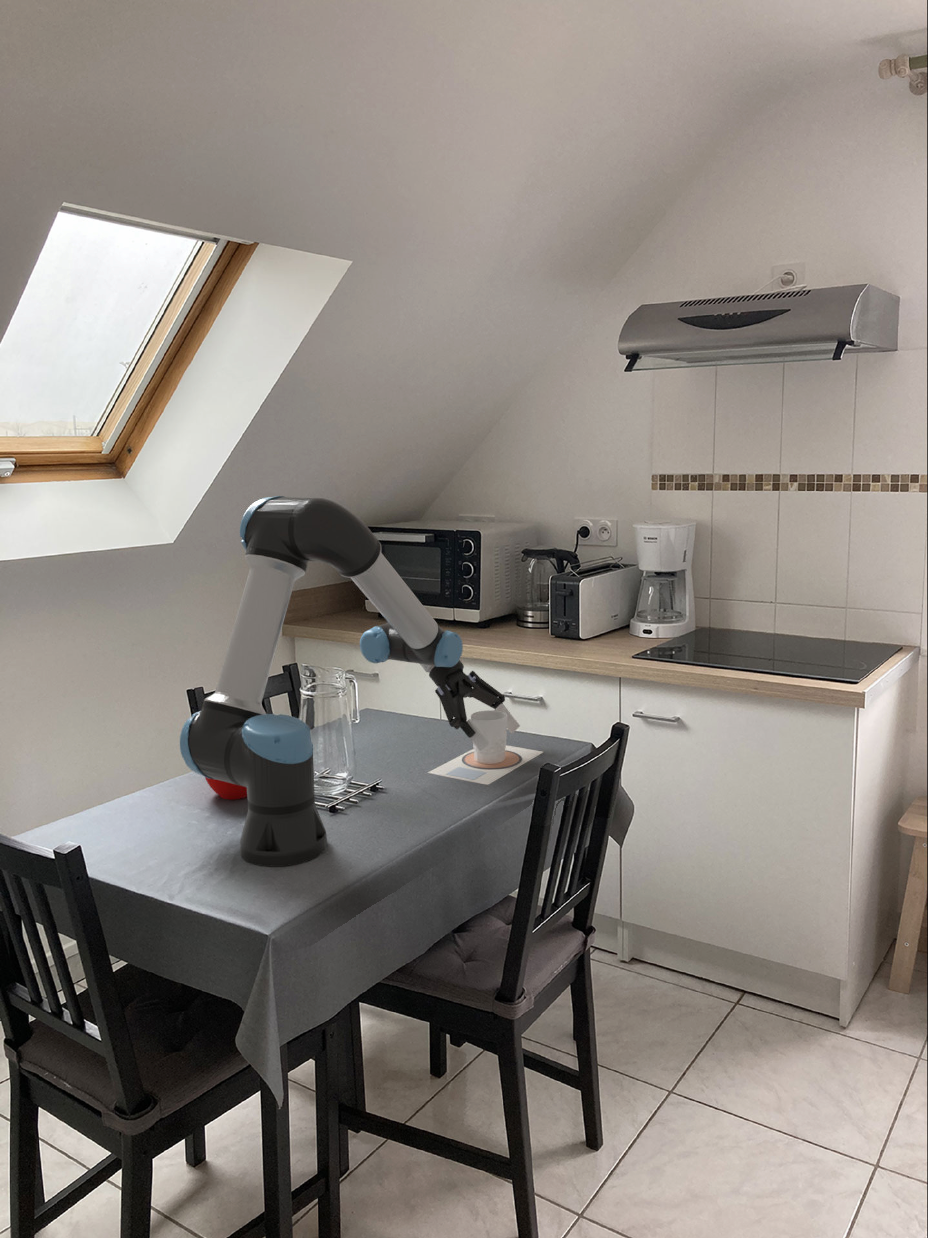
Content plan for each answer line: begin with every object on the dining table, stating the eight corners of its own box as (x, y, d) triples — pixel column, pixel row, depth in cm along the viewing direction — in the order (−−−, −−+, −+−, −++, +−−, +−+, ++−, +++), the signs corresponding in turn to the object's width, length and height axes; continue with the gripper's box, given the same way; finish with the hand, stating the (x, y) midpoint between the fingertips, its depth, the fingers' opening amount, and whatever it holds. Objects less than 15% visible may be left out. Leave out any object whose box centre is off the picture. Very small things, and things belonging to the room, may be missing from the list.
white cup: (508, 765, 219) (507, 720, 217) (471, 765, 219) (470, 720, 217) (507, 753, 226) (506, 710, 224) (471, 754, 227) (471, 710, 225)
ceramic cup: (296, 788, 210) (293, 742, 208) (223, 810, 199) (219, 761, 197) (263, 773, 220) (261, 729, 218) (191, 794, 209) (188, 747, 207)
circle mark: (484, 773, 214) (483, 773, 214) (450, 757, 225) (450, 756, 225) (534, 761, 221) (534, 760, 221) (499, 746, 232) (499, 745, 232)
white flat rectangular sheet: (487, 788, 208) (487, 784, 207) (427, 776, 216) (427, 772, 216) (543, 755, 227) (543, 751, 227) (486, 745, 235) (486, 741, 235)
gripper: (460, 662, 238) (517, 732, 233) (398, 686, 217) (460, 764, 212) (479, 642, 234) (538, 713, 229) (418, 665, 214) (481, 744, 209)
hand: (500, 738), depth 221 cm, fingers open, 13 cm apart
